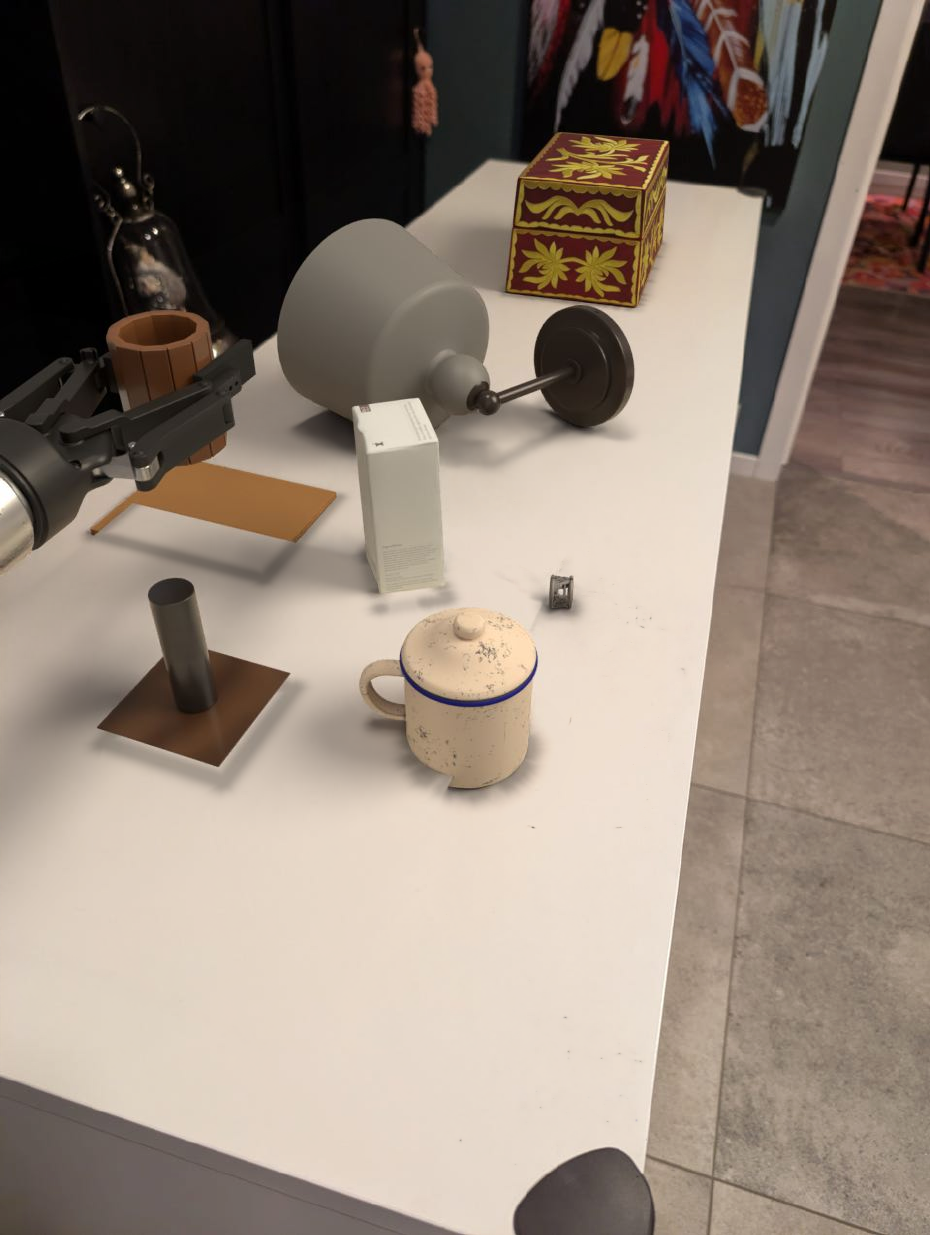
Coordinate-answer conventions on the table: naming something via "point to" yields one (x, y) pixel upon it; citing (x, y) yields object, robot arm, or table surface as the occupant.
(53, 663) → the table surface
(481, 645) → the teacup with lid
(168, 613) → the ring holder
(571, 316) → the light fixture
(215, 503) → the wooden board
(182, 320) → the brown wooden cylinder
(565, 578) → the decorative ring
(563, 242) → the decorative box
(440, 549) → the cosmetic box
